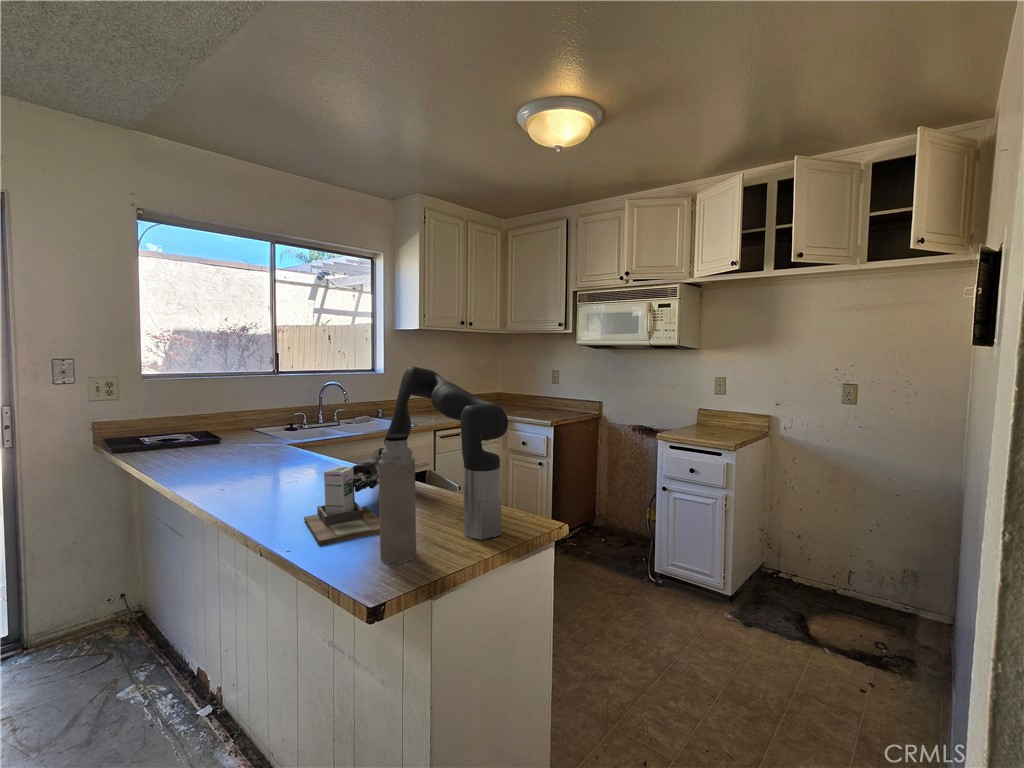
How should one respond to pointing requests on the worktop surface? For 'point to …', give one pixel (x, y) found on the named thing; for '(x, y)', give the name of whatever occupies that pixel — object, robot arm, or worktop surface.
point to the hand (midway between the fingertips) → (341, 487)
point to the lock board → (342, 525)
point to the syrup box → (339, 490)
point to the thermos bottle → (397, 500)
